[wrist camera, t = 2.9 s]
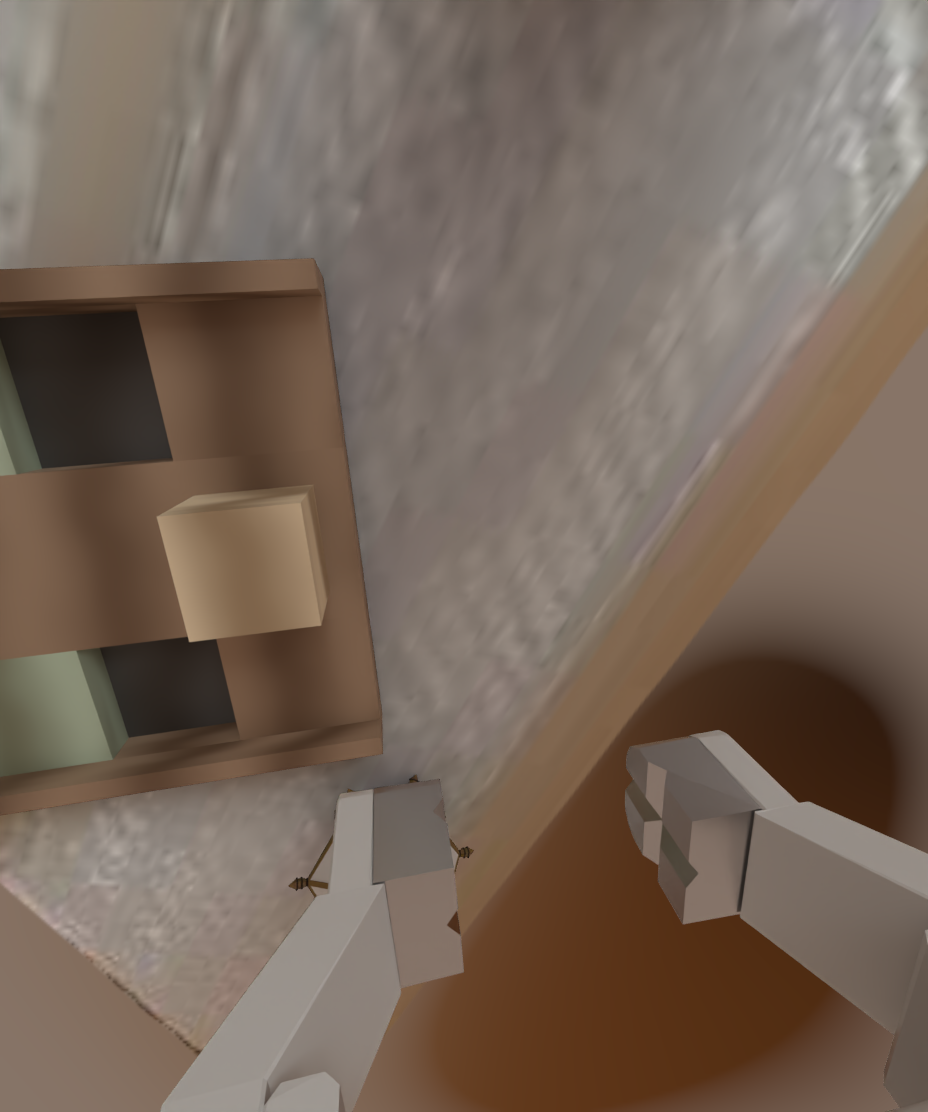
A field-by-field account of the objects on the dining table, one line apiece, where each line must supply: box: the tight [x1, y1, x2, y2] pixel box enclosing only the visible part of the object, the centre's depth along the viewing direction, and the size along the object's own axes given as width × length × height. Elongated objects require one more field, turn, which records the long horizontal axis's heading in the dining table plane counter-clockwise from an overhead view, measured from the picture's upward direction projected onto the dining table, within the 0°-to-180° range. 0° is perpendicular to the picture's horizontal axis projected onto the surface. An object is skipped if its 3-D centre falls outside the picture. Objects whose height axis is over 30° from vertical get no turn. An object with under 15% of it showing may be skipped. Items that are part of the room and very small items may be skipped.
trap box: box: [0, 258, 383, 815], centre depth 22 cm, size 20×22×5 cm
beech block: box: [157, 485, 330, 642], centre depth 21 cm, size 5×5×4 cm
